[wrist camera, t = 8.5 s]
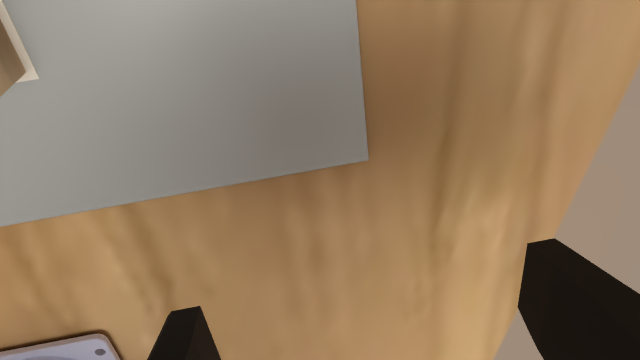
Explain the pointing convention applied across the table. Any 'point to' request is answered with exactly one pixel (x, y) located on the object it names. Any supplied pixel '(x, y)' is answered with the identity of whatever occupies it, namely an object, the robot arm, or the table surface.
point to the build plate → (173, 98)
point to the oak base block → (8, 62)
